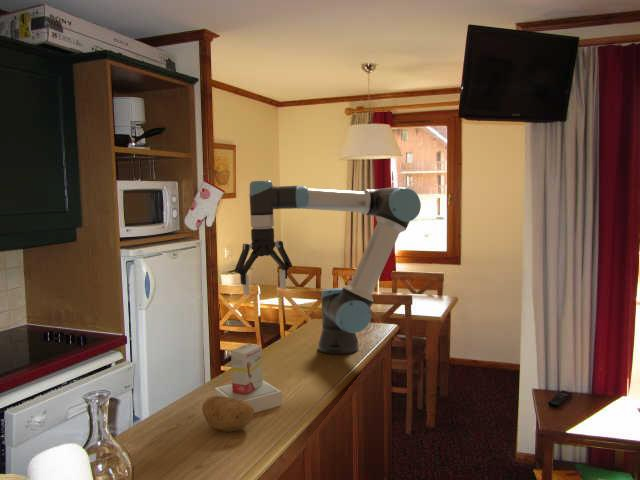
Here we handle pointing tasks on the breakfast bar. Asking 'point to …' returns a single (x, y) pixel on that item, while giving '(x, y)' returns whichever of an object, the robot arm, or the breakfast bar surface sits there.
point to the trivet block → (254, 396)
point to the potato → (227, 413)
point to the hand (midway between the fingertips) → (265, 291)
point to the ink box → (246, 368)
